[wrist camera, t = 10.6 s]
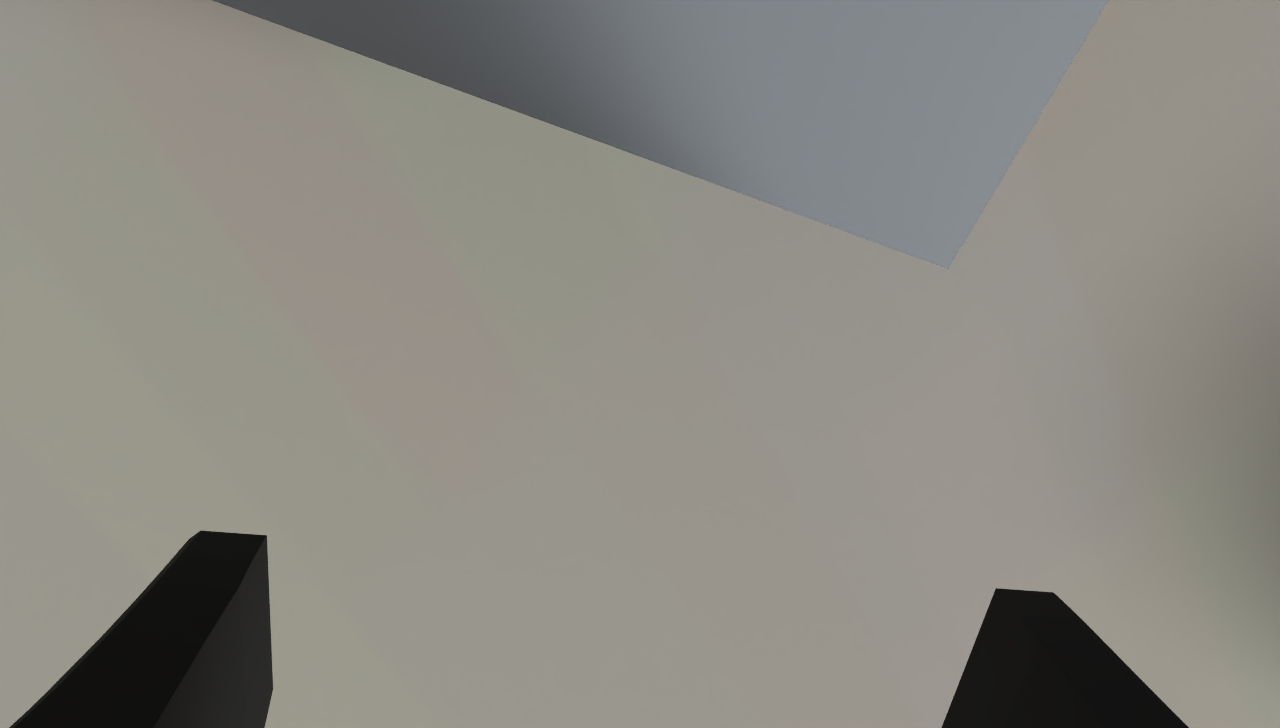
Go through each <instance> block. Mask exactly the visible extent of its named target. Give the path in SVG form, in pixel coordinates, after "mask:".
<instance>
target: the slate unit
mask: <svg viewBox="0 0 1280 728" xmlns="http://www.w3.org/2000/svg"><path fill="white" fill-rule="evenodd" d="M213 1H216V2H219V3H221V4H224V5H227V6H230V7H232V8H235V9H238V10H240V11H243V12H246V13H249V14H251V15H254V16H257V17H260V18H262V19H265V20H268V21H271V22H273V23H276V24H279V25H282V26H284V27H287V28H290V29H293V30H295V31H298V32H301V33H303V34H306V35H309V36H312V37H314V38H317V39H320V40H323V41H325V42H328V43H331V44H334V45H336V46H339V47H342V48H345V49H347V50H350V51H353V52H355V53H358V54H361V55H364V56H366V57H369V58H372V59H375V60H377V61H380V62H383V63H386V64H388V65H391V66H394V67H397V68H399V69H402V70H405V71H407V72H410V73H413V74H416V75H418V76H421V77H424V78H427V79H429V80H432V81H435V82H438V83H440V84H443V85H446V86H449V87H451V88H454V89H457V90H460V91H462V92H465V93H468V94H470V95H473V96H476V97H479V98H481V99H484V100H487V101H490V102H492V103H495V104H498V105H501V106H503V107H506V108H509V109H512V110H514V111H517V112H520V113H522V114H525V115H528V116H531V117H533V118H536V119H539V120H542V121H544V122H547V123H550V124H553V125H555V126H558V127H561V128H564V129H566V130H569V131H572V132H575V133H577V134H580V135H583V136H585V137H588V138H591V139H594V140H596V141H599V142H602V143H605V144H607V145H610V146H613V147H616V148H618V149H621V150H624V151H627V152H629V153H632V154H635V155H637V156H640V157H643V158H646V159H648V160H651V161H654V162H657V163H659V164H662V165H665V166H668V167H670V168H673V169H676V170H679V171H681V172H684V173H687V174H690V175H692V176H695V177H698V178H700V179H703V180H706V181H709V182H711V183H714V184H717V185H720V186H722V187H725V188H728V189H731V190H733V191H736V192H739V193H742V194H744V195H747V196H750V197H752V198H755V199H758V200H761V201H763V202H766V203H769V204H772V205H774V206H777V207H780V208H783V209H785V210H788V211H791V212H794V213H796V214H799V215H802V216H805V217H807V218H810V219H813V220H815V221H818V222H821V223H824V224H826V225H829V226H832V227H835V228H837V229H840V230H843V231H846V232H848V233H851V234H854V235H857V236H859V237H862V238H865V239H867V240H870V241H873V242H876V243H878V244H881V245H884V246H887V247H889V248H892V249H895V250H898V251H900V252H903V253H906V254H909V255H911V256H914V257H917V258H920V259H922V260H925V261H928V262H930V263H933V264H936V265H939V266H941V267H944V268H947V269H948V268H949V267H950V265H951V263H952V262H953V260H954V258H955V257H956V255H957V253H958V252H959V250H960V248H961V247H962V245H963V243H964V242H965V240H966V238H967V237H968V235H969V233H970V232H971V230H972V228H973V227H974V225H975V223H976V222H977V220H978V218H979V217H980V215H981V213H982V212H983V210H984V208H985V207H986V205H987V203H988V201H989V200H990V198H991V196H992V195H993V193H994V191H995V190H996V188H997V186H998V185H999V183H1000V181H1001V180H1002V178H1003V176H1004V175H1005V173H1006V171H1007V170H1008V168H1009V166H1010V165H1011V163H1012V161H1013V160H1014V158H1015V156H1016V155H1017V153H1018V151H1019V150H1020V148H1021V146H1022V145H1023V143H1024V141H1025V140H1026V138H1027V136H1028V135H1029V133H1030V131H1031V130H1032V128H1033V126H1034V125H1035V123H1036V121H1037V120H1038V118H1039V116H1040V114H1041V113H1042V111H1043V109H1044V108H1045V106H1046V104H1047V103H1048V101H1049V99H1050V98H1051V96H1052V94H1053V93H1054V91H1055V89H1056V88H1057V86H1058V84H1059V83H1060V81H1061V79H1062V78H1063V76H1064V74H1065V73H1066V71H1067V69H1068V68H1069V66H1070V64H1071V63H1072V61H1073V59H1074V58H1075V56H1076V54H1077V53H1078V51H1079V49H1080V48H1081V46H1082V44H1083V43H1084V41H1085V39H1086V38H1087V36H1088V34H1089V32H1090V31H1091V29H1092V27H1093V26H1094V24H1095V22H1096V21H1097V19H1098V17H1099V16H1100V14H1101V12H1102V11H1103V9H1104V7H1105V6H1106V4H1107V2H1108V1H1109V0H213Z"/></svg>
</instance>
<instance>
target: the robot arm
mask: <svg viewBox="0 0 1280 728" xmlns="http://www.w3.org/2000/svg"><path fill="white" fill-rule="evenodd" d="M272 691H273V678H272V653H271V628H270V604H269V579H268V555H267V536H266V535H252V534H239V533H225V532H211V531H200V532H198V533H197V534H196V535H194V536H193V537H191V538H190V539H189V540H188V541H187V542H186V543H185V544H184V546H183V547H182V548H181V549H180V550H179V551H178V553H177V554H176V555H175V556H174V557H173V558H172V560H171V561H170V562H169V563H168V564H167V565H166V566H165V568H164V569H163V570H162V571H161V572H160V573H159V574H158V576H157V577H156V578H155V579H154V580H153V581H152V582H151V583H150V585H149V586H148V587H147V588H146V589H145V590H144V591H143V592H142V593H141V595H140V596H139V597H138V598H137V599H136V600H135V601H134V602H133V603H132V604H131V606H130V607H129V608H128V609H127V610H126V611H125V612H124V613H123V614H122V615H121V616H120V617H119V618H118V620H117V621H116V622H115V623H114V624H113V625H112V626H111V627H110V628H109V629H108V630H107V631H106V632H105V634H104V635H103V636H102V637H101V638H100V639H99V640H98V641H97V642H96V643H95V644H94V645H93V646H92V647H91V648H90V649H89V650H88V651H87V652H86V653H85V654H84V655H83V656H82V657H81V658H80V659H79V660H78V661H77V662H76V663H75V664H74V665H73V666H72V667H71V668H70V669H69V670H68V671H67V672H66V673H65V674H64V675H63V676H62V677H61V678H60V679H59V680H58V681H57V682H56V683H55V684H54V686H53V687H52V688H51V689H50V690H49V691H48V692H47V693H46V694H45V695H44V696H42V697H41V698H40V699H39V700H38V701H37V702H36V703H35V704H34V705H33V706H32V707H31V708H30V709H29V710H28V711H27V712H26V713H25V714H24V715H23V716H21V717H20V718H19V719H18V720H17V721H16V722H15V723H14V724H13V725H12V726H11V727H10V728H264V727H265V723H266V718H267V714H268V709H269V704H270V700H271V695H272ZM942 728H1189V727H1188V726H1187V725H1186V724H1185V723H1184V722H1183V721H1182V720H1181V719H1180V718H1179V717H1178V716H1177V715H1176V714H1175V713H1174V712H1173V711H1172V710H1171V709H1170V708H1169V707H1168V706H1167V705H1166V704H1165V703H1164V702H1163V701H1162V700H1161V699H1160V698H1159V697H1158V696H1157V695H1156V694H1155V693H1154V692H1153V691H1152V690H1151V689H1150V688H1149V687H1148V686H1147V685H1146V684H1145V683H1144V682H1143V681H1142V680H1141V679H1140V678H1139V677H1138V676H1137V675H1136V674H1135V673H1134V672H1133V671H1132V670H1131V669H1130V668H1129V667H1128V666H1127V665H1126V664H1125V663H1124V662H1123V661H1122V660H1121V659H1120V658H1119V657H1118V656H1117V655H1116V654H1115V653H1114V652H1113V651H1112V650H1111V649H1110V648H1109V647H1108V646H1107V645H1106V644H1105V643H1104V642H1103V640H1102V639H1101V638H1100V637H1099V636H1098V635H1097V634H1096V633H1095V632H1094V631H1093V630H1092V629H1091V628H1090V627H1089V626H1088V625H1087V624H1086V623H1085V622H1084V621H1083V620H1082V619H1081V618H1080V617H1079V616H1078V615H1077V614H1076V613H1074V612H1073V611H1072V610H1071V609H1070V608H1069V607H1068V606H1067V605H1066V604H1065V603H1064V602H1063V601H1062V600H1061V599H1060V598H1059V597H1058V596H1057V595H1055V594H1054V593H1052V592H1038V591H1024V590H1010V589H997V588H996V590H995V592H994V595H993V597H992V600H991V602H990V605H989V608H988V610H987V613H986V615H985V618H984V620H983V623H982V626H981V628H980V631H979V633H978V636H977V638H976V641H975V644H974V646H973V649H972V651H971V654H970V656H969V659H968V661H967V664H966V667H965V669H964V672H963V674H962V677H961V679H960V682H959V685H958V687H957V690H956V692H955V695H954V697H953V700H952V703H951V705H950V708H949V710H948V713H947V715H946V718H945V720H944V723H943V726H942Z"/></svg>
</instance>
